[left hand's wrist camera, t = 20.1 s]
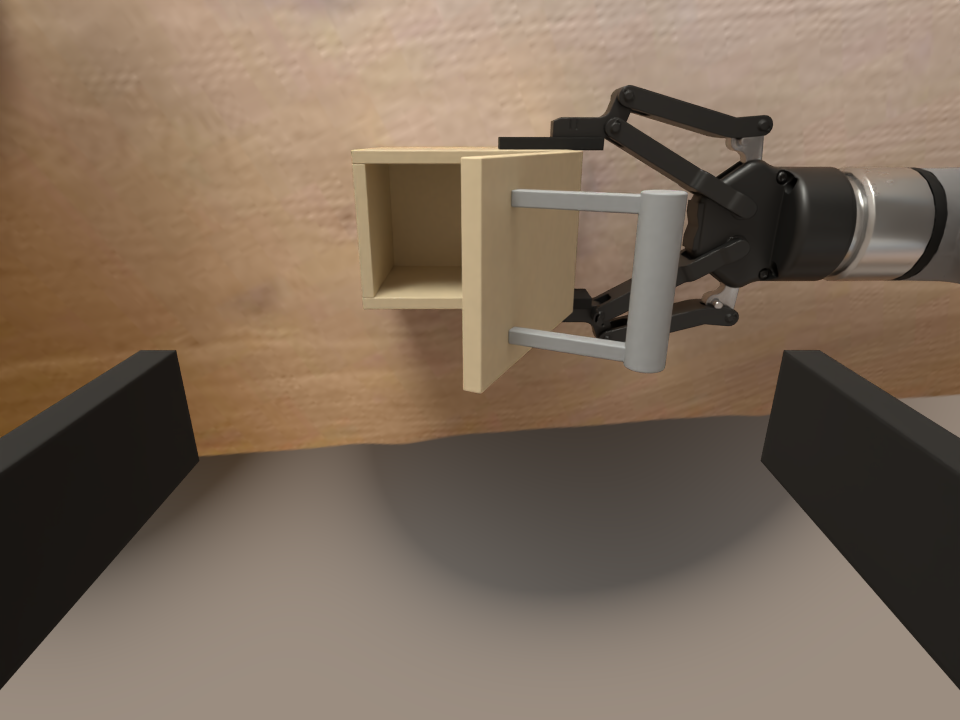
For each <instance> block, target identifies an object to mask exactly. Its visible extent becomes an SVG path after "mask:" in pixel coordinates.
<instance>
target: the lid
mask: <svg viewBox="0 0 960 720" xmlns="http://www.w3.org/2000/svg"><path fill="white" fill-rule="evenodd" d="M582 158H583V151H554V152H538V153H521V154H505V155H488V156H472V157H462V158H461V228H462V327H463V390H464V391H469V392H474V393H479V394H481V393H483V392H484V391H485V390H486V389H487V388H488V387H489V386H490V385H492V384H493V383H494V382H495V381H496V380H497V379H498V378H499V377H501V376H502V375H503V374H504V373H505V372H506V371H507V370H508V369H509V368H511V367H512V366H513V365H514V364H515V363H516V362H517V361H518V360H520V359H521V358H522V357H523V356H524V355H525V354H526V353H527V352H529V351H530V350H531V349H532V348H539V349H545V350H552V351H558V352H564V353H571V354H577V355H583V356H589V357H596V358H602V359H608V360H615V361H621V362H623V363H624V366H625V367H626V368H628V369H630V370H632V371H636V372H640V373H657V372H661V371H663V370H664V368H665V363H666V355H667V348H668V340H669V333H670V325H671V317H672V310H673V302H674V294H675V287H676V279H677V272H678V264H679V256H680V249H681V241H682V233H683V226H684V218H685V211H686V203H687V195H688V194H687V192H685V191H677V190H644V191H641V194H630V193H605V192H580V189H581V174H582ZM579 211H594V212H613V213H631V214H638V224H637V234H636V244H635V253H634V263H633V273H632V283H631V293H630V303H629V312H628V322H627V332H626V342H619V341H612V340H605V339H598V338H591V337H584V336H577V335H570V334H563V333H556V332H551V331H552V330H553V329H554V328H555V327H556V326H558V325H559V324H560V323H561V322H562V321H563V320H564V319H565V318H567V317H568V316H569V315H570V314H571V313H572V312H573V299H574V283H575V267H576V252H577V236H578V221H579Z"/></svg>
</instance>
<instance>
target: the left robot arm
mask: <svg viewBox="0 0 960 720" xmlns="http://www.w3.org/2000/svg"><path fill="white" fill-rule="evenodd" d="M198 462H199V457H198V452H197V448H196V443H195V438H194V433H193V429H192V424H191V419H190V414H189V409H188V405H187V400H186V395H185V390H184V386H183V381H182V376H181V371H180V367H179V362H178V357H177V352H176V350H140V351H139V352H137V353H135V354H134V355H132V356H131V357H129V358H128V359H126V360H124V361H123V362H121V363H120V364H118V365H116V366H115V367H113V368H112V369H110V370H108V371H107V372H105V373H104V374H102V375H100V376H99V377H97V378H96V379H94V380H92V381H91V382H89V383H88V384H86V385H84V386H83V387H81V388H80V389H78V390H76V391H75V392H73V393H72V394H70V395H68V396H67V397H65V398H64V399H62V400H60V401H59V402H57V403H56V404H54V405H52V406H51V407H49V408H48V409H46V410H44V411H43V412H41V413H40V414H38V415H36V416H35V417H33V418H32V419H30V420H28V421H27V422H25V423H24V424H22V425H20V426H19V427H17V428H16V429H14V430H12V431H11V432H9V433H8V434H6V435H4V436H3V437H1V438H0V690H1V688H2V687H3V686H4V685H5V684H6V683H7V681H8V680H9V679H10V678H11V677H12V676H13V675H14V673H15V672H16V671H17V670H18V669H19V668H20V667H21V665H22V664H23V663H24V662H25V661H26V660H27V658H28V657H29V656H30V655H31V654H32V653H33V652H34V650H35V649H36V648H37V647H38V646H39V645H40V644H41V642H42V641H43V640H44V639H45V638H46V637H47V635H48V634H49V633H50V632H51V631H52V630H53V628H54V627H55V626H56V625H57V624H58V623H59V622H60V620H61V619H62V618H63V617H64V616H65V615H66V614H67V612H68V611H69V610H70V609H71V608H72V607H73V606H74V604H75V603H76V602H77V601H78V600H79V599H80V597H81V596H82V595H83V594H84V593H85V592H86V591H87V589H88V588H89V587H90V586H91V585H92V584H93V582H94V581H95V580H96V579H97V578H98V577H99V576H100V574H101V573H102V572H103V571H104V570H105V569H106V568H107V566H108V565H109V564H110V563H111V562H112V561H113V560H114V558H115V557H116V556H117V555H118V554H119V553H120V551H121V550H122V549H123V548H124V547H125V546H126V545H127V543H128V542H129V541H130V540H131V539H132V538H133V536H134V535H135V534H136V533H137V532H138V531H139V530H140V528H141V527H142V526H143V525H144V524H145V523H146V522H147V520H148V519H149V518H150V517H151V516H152V515H153V514H154V512H155V511H156V510H157V509H158V508H159V507H160V505H161V504H162V503H163V502H164V501H165V500H166V499H167V497H168V496H169V495H170V494H171V493H172V492H173V490H174V489H175V488H176V487H177V486H178V485H179V483H180V482H181V481H182V480H183V479H184V478H185V477H186V476H187V474H188V473H189V472H190V471H191V470H192V468H193V467H194V466H195V465H196V464H197V463H198ZM761 462H762V463H763V464H764V465H765V466H766V467H767V469H768V470H769V471H770V472H771V473H772V474H773V476H774V477H775V478H776V479H777V480H778V481H779V482H780V484H781V485H782V486H783V487H784V488H785V489H786V490H787V492H788V493H789V494H790V495H791V496H792V497H793V498H794V500H795V501H796V502H797V503H798V504H799V505H800V507H801V508H802V509H803V510H804V511H805V512H806V513H807V515H808V516H809V517H810V518H811V519H812V520H813V522H814V523H815V524H816V525H817V526H818V527H819V528H820V530H821V531H822V532H823V533H824V534H825V535H826V536H827V538H828V539H829V540H830V541H831V542H832V543H833V545H834V546H835V547H836V548H837V549H838V550H839V551H840V553H841V554H842V555H843V556H844V557H845V558H846V560H847V561H848V562H849V563H850V564H851V565H852V566H853V568H854V569H855V570H856V571H857V572H858V573H859V574H860V576H861V577H862V578H863V579H864V580H865V581H866V583H867V584H868V585H869V586H870V587H871V588H872V589H873V591H874V592H875V593H876V594H877V595H878V596H879V597H880V599H881V600H882V601H883V602H884V603H885V604H886V606H887V607H888V608H889V609H890V610H891V611H892V612H893V614H894V615H895V616H896V617H897V618H898V619H899V620H900V622H901V623H902V624H903V625H904V626H905V627H906V629H907V630H908V631H909V632H910V633H911V634H912V635H913V637H914V638H915V639H916V640H917V641H918V642H919V643H920V645H921V646H922V647H923V648H924V649H925V650H926V652H927V653H928V654H929V655H930V656H931V657H932V658H933V660H934V661H935V662H936V663H937V664H938V665H939V667H940V668H941V669H942V670H943V671H944V672H945V673H946V675H947V676H948V677H949V678H950V679H951V680H952V681H953V683H954V684H955V685H956V686H957V687H958V688H959V690H960V438H959V437H957V436H956V435H954V434H952V433H951V432H949V431H948V430H946V429H944V428H943V427H941V426H940V425H938V424H936V423H935V422H933V421H932V420H930V419H928V418H927V417H925V416H924V415H922V414H920V413H919V412H917V411H916V410H914V409H912V408H911V407H909V406H908V405H906V404H904V403H903V402H901V401H900V400H898V399H896V398H895V397H893V396H892V395H890V394H888V393H887V392H885V391H884V390H882V389H880V388H879V387H877V386H876V385H874V384H872V383H871V382H869V381H868V380H866V379H864V378H863V377H861V376H860V375H858V374H856V373H855V372H853V371H852V370H850V369H848V368H847V367H845V366H844V365H842V364H840V363H839V362H837V361H836V360H834V359H832V358H831V357H829V356H828V355H826V354H825V353H823V352H821V351H820V350H784V352H783V357H782V362H781V367H780V371H779V376H778V381H777V386H776V390H775V395H774V400H773V405H772V409H771V414H770V419H769V424H768V429H767V433H766V438H765V443H764V448H763V452H762V457H761Z"/></svg>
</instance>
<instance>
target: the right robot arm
mask: <svg viewBox="0 0 960 720" xmlns="http://www.w3.org/2000/svg"><path fill="white" fill-rule="evenodd" d="M630 113H634V114H637V115H640V116H644V117H647V118H650V119H653V120H657V121H660V122H663V123H667V124H670V125H673V126H677V127H680V128H683V129H686V130H690V131H693V132H696V133H700V134H703V135H706V136H710V137H716V138H726V140H725V143H726V147H727V148H728V149H729V150H732V151H736V152H738V154H739V155H740V161H739V162H737V163H736V164H735V165H733V166H732V167H730V168H729V169H727V170H726V171H724V172H723V173H721V174H720V175H718V176H717V177H715V176H713V175H711V174H710V173H708V172H706V171H704V170H702V169H700V168H698V167H697V166H695V165H693V164H692V163H690V162H689V161H687V160H685V159H684V158H682V157H681V156H679V155H678V154H676V153H674V152H673V151H671V150H670V149H668V148H666V147H665V146H663V145H662V144H660V143H659V142H657V141H655V140H654V139H652V138H651V137H649V136H647V135H646V134H644V133H643V132H641V131H640V130H638V129H636V128H635V127H633V126H632V125H630V124H628V123H627V119H628V117H629V115H630ZM772 127H773V121H772V119H771V117H769V116H767V115H760V116H748V117H737V118H736V117H733V116H730V115H726V114H723V113H720V112H717V111H714V110H710V109H707V108H704V107H701V106H697V105H694V104H691V103H688V102H684V101H681V100H678V99H675V98H671V97H668V96H665V95H662V94H659V93H655V92H652V91H649V90H646V89H642V88H639V87H636V86H633V85H627V86H624V87H621V88H619V89H616V90H615V91H614V92H613V93H612V95H611V101H610V103H609V105H608V108H607V110H606V112H605V113H604V114H603V115H602V116H601V117H561V118H558V119H555V120H553V121H551V132H550V137H498V149H500V150H603V148H604V138H605V139H606V140H608V141H609V142H611V143H613V144H614V145H616V146H618V147H619V148H621V149H622V150H624V151H626V152H627V153H629V154H630V155H632V156H634V157H635V158H637V159H639V160H640V161H642V162H643V163H645V164H647V165H648V166H650V167H651V168H653V169H655V170H656V171H658V172H659V173H661V174H663V175H664V176H666V177H668V178H669V179H671V180H672V181H674V182H676V183H677V184H678V185H679V186H681V187H682V188H684V189H685V190H687V191H689V192H690V193H692V194H694V195H693V197H692V199H691V200H688V207H687V216H688V225H687V228H686V230H685V233H684V237H683V246H685V249H683V250H681V251H680V256H679V264H678V272H677V279H676V287H677V286H679V285H681V284H683V283H685V282H691V281H694V280H697V279H699V278H701V277H703V276H705V275H707V274H711V275H712V276H713V277H714V278H716V279H717V280H718V281H719V282H721V283H720V286H719V287H718V288H717V289H716V290H714V291H710V292H707V293H705V294H704V295H703V296H702V299H691V300H685V301H681V302H677V303H673V310H672V317H671V325H670V333H671V332H675V331H679V330H683V329H687V328H691V327H695V326H699V325H703V324H709V325H721V326H732V325H734V324H735V323H736V322H737V321H738V319H739V315H738V313H737V312H736V311H735V310H734V306H735V302H736V298H737V294H738V291H739V288H740V287H743V286H745V285H747V284H749V283H752V282H755V281H817V280H821V279H825V280H827V281H887V280H915V281H945V282H953V283H958V284H960V168H909V167H845V168H840V169H836V168H833V167H773V166H771V165H769V164H767V163H766V162H765V161H762V151H763V140H764V135H767V134H768V133H769V132H770V131H771V129H772ZM631 283H632V278H631V279H630V280H628V281H626V282H624V283H622V284H620V285H618V286H616V287H614V288H612V289H610V290H608V291H606V292H604V293H602V294H600V295H598V296H596V297H594V298H591V296H590V295H589V293H588V292H587V291H586V289H574V299H573V312H572V313H571V314H570V315H569V316H568V317H567V318H565V319H564V320H563V321H562V322H587V323H589V324H591V326H592V330H593V334H594V336H595V337H596V338H598V339H605V340H612V341H619V342H626V332H627V322H628V315H625V316H621V317H617V316H619V315H621V314H623V313H625V312H627V311H629V303H630V293H631ZM615 317H617V318H615Z"/></svg>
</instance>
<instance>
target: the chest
mask: <svg viewBox="0 0 960 720" xmlns="http://www.w3.org/2000/svg"><path fill="white" fill-rule="evenodd" d="M554 151H573V150H500V149H498V148H443V147H379V148H369V149H358V150H351V156H352V170H353V183H354V196H355V209H356V222H357V235H358V248H359V261H360V274H361V287H362V297H363V298H362V300H363V309H462V228H461V158H462V157H472V156H488V155H505V154H521V153H538V152H554Z"/></svg>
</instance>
